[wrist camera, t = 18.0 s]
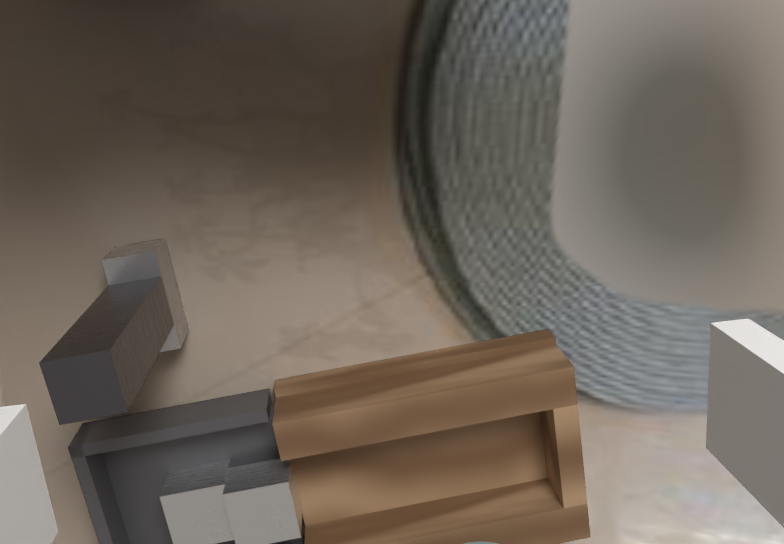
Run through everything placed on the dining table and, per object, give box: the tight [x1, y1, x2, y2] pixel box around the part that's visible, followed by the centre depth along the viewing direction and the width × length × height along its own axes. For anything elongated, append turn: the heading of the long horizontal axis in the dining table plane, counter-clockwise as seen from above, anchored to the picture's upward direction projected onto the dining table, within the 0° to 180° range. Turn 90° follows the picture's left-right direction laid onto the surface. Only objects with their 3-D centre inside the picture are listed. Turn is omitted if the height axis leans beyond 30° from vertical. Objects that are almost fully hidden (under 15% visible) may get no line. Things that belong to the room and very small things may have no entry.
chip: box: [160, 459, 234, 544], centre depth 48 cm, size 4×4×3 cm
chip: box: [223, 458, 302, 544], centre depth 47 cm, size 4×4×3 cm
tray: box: [68, 389, 305, 544], centre depth 48 cm, size 12×12×3 cm
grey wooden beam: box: [40, 238, 189, 425], centre depth 39 cm, size 6×3×14 cm, turn 9°
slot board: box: [272, 329, 590, 544], centre depth 48 cm, size 13×18×5 cm
